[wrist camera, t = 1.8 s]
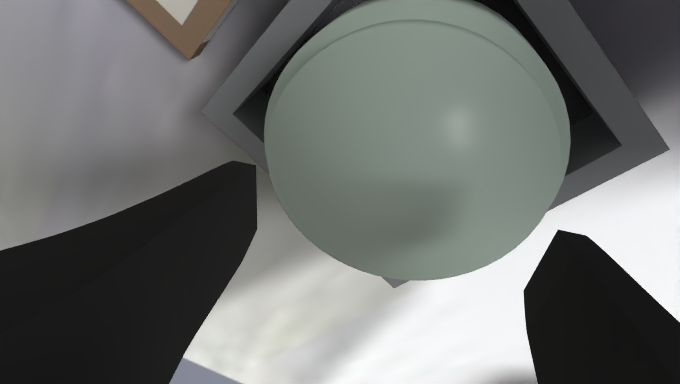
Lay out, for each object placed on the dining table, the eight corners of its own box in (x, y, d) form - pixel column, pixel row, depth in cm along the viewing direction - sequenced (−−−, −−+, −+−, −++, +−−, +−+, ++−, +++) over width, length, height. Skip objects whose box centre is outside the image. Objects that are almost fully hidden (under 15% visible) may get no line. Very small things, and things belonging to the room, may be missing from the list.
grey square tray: (633, 114, 15) (669, 149, 13) (399, 247, 22) (394, 288, 19) (441, -164, 12) (440, -187, 10) (232, 87, 18) (200, 111, 16)
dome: (606, 147, 13) (648, 203, 10) (396, 262, 18) (388, 320, 15) (431, -90, 11) (427, -97, 8) (242, 117, 15) (200, 156, 13)
